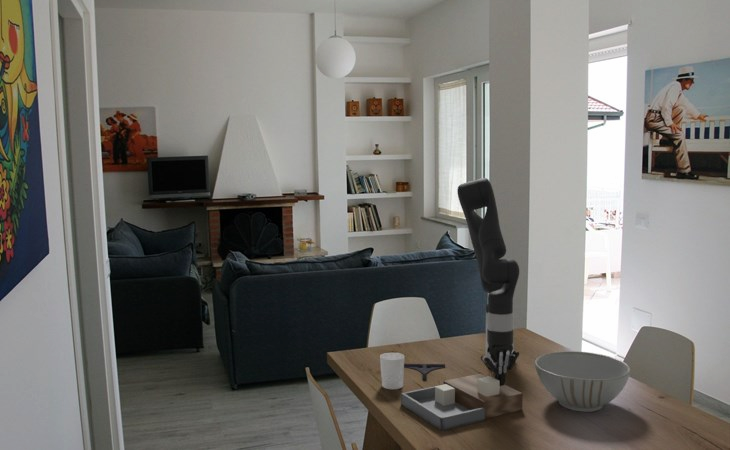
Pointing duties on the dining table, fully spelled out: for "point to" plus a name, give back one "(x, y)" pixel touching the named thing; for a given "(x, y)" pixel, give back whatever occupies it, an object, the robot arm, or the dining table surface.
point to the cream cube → (444, 394)
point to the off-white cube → (488, 386)
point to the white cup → (392, 370)
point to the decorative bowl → (582, 378)
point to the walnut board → (494, 404)
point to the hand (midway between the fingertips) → (500, 384)
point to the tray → (439, 410)
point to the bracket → (424, 368)
